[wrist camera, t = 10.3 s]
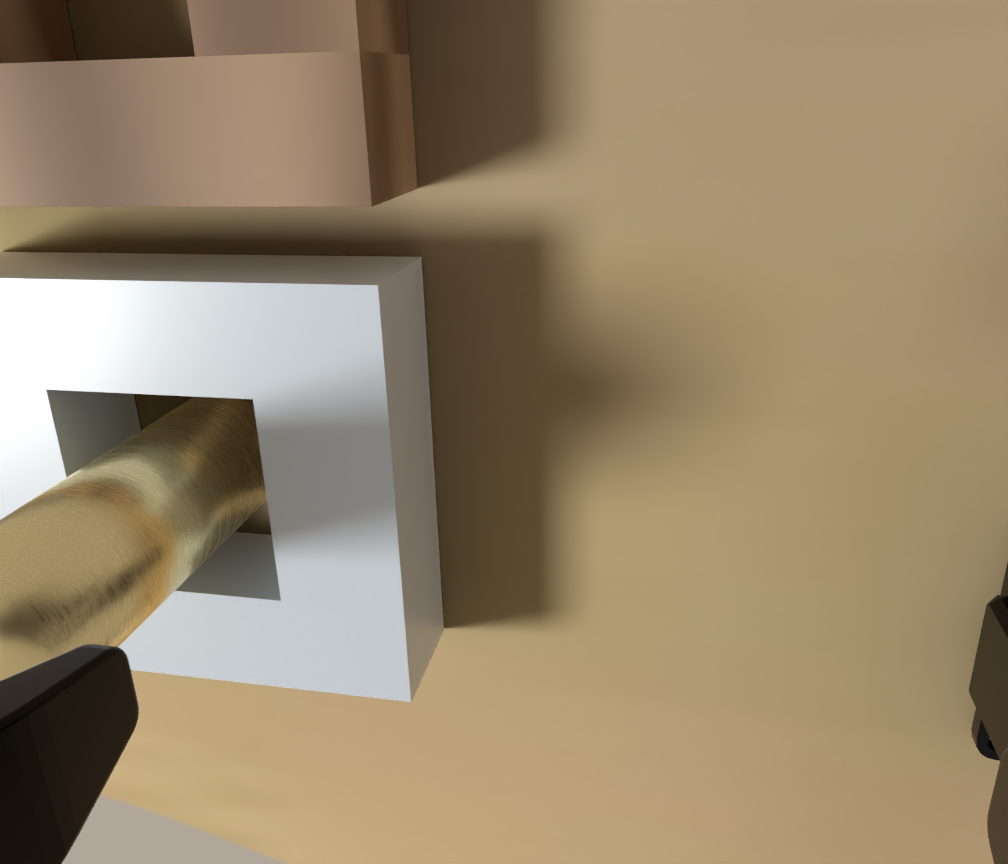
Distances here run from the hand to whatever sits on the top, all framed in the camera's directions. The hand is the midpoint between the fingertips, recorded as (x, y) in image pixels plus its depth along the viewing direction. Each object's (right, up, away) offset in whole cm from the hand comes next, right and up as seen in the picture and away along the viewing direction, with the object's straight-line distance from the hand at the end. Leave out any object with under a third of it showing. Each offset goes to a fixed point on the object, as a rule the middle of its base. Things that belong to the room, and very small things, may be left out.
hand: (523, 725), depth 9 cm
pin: (-7, +3, +14) cm, 16 cm away
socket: (-7, +3, +14) cm, 16 cm away
